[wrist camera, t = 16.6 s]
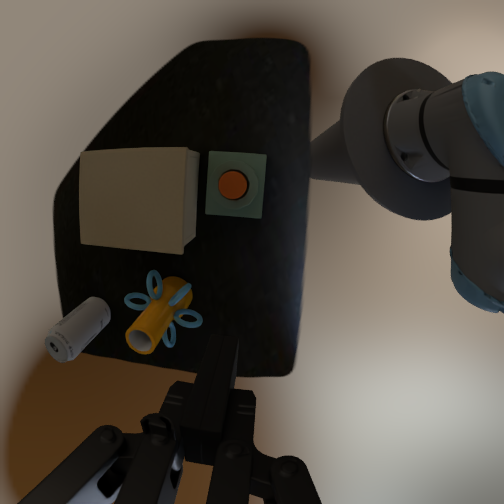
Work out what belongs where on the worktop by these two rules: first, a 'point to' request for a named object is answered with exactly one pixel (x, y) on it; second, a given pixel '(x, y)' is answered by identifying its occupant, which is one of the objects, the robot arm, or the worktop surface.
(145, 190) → the beige board
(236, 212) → the control block
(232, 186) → the button
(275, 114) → the worktop surface
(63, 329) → the energy drink can
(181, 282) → the cylinder
